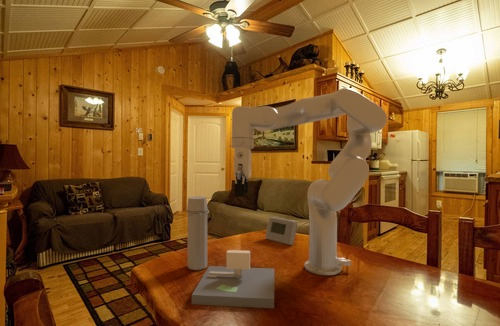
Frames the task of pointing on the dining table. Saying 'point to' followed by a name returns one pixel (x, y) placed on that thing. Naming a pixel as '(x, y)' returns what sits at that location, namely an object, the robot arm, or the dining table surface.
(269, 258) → the dining table surface
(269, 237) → the digital clock
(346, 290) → the dining table surface
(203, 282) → the grey square board
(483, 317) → the dining table surface
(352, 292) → the dining table surface
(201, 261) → the water bottle
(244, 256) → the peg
